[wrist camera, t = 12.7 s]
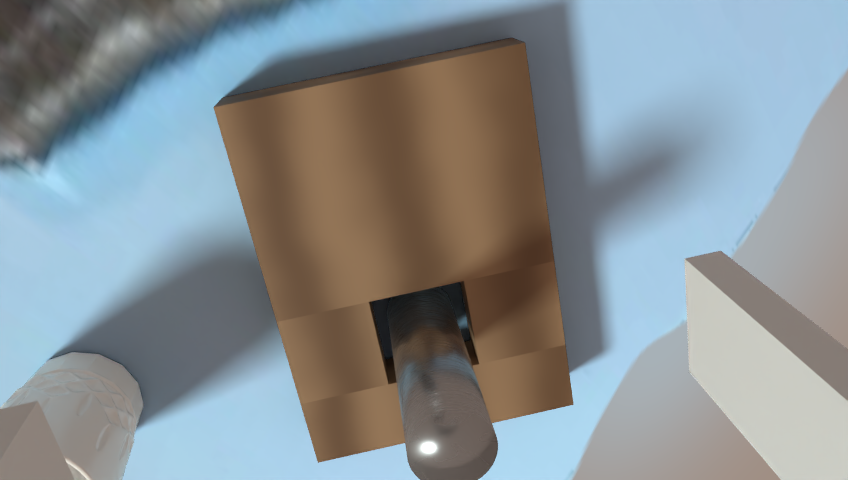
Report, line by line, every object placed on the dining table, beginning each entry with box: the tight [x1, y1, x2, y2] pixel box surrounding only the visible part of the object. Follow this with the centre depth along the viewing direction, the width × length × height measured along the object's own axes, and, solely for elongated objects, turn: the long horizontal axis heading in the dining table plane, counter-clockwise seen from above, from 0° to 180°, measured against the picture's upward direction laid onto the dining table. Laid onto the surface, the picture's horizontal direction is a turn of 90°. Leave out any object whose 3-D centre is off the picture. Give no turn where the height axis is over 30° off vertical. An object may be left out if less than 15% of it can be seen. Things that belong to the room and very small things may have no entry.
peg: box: [387, 287, 498, 480], centre depth 38 cm, size 4×4×14 cm
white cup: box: [0, 352, 144, 480], centre depth 40 cm, size 8×8×10 cm
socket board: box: [214, 38, 573, 462], centre depth 42 cm, size 16×22×3 cm
